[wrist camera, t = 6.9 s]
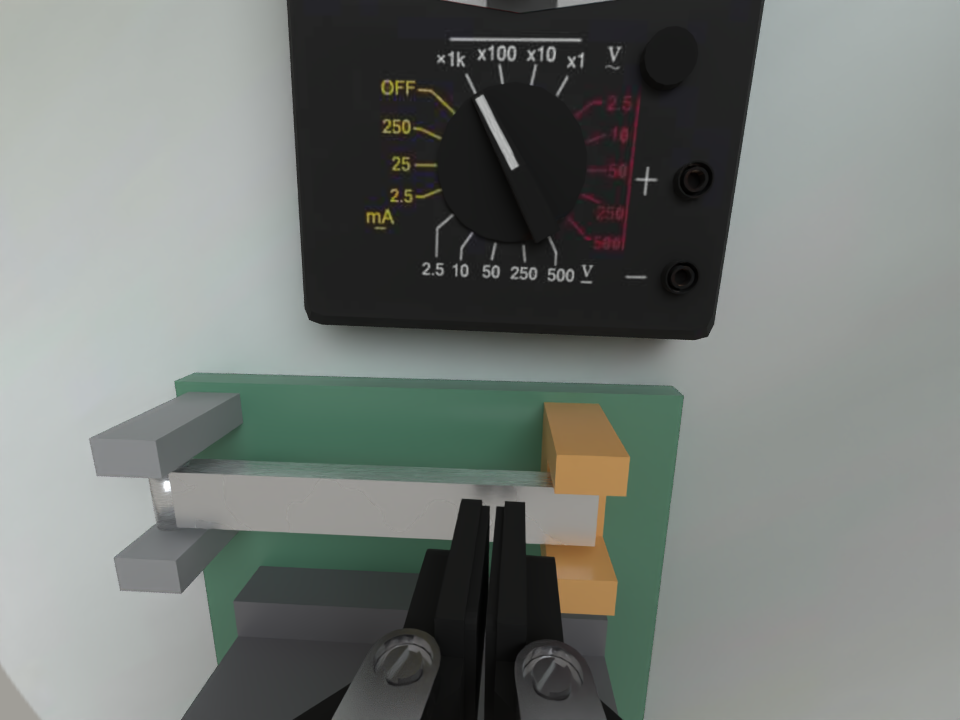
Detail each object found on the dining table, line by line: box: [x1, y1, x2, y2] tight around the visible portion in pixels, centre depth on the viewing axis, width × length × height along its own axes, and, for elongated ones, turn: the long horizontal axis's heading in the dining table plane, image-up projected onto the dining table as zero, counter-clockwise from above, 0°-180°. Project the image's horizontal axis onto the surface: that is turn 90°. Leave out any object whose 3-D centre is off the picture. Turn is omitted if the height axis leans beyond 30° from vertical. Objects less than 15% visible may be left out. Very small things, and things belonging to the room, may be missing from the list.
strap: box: [149, 458, 599, 546], centre depth 15 cm, size 2×15×1 cm, turn 89°
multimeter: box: [287, 0, 765, 340], centre depth 13 cm, size 13×19×5 cm
